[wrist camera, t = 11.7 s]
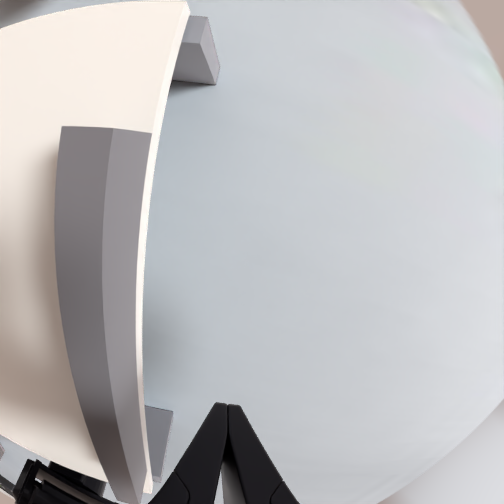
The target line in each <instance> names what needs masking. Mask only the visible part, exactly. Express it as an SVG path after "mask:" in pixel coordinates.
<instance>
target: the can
mask: <svg viewBox="0 0 504 504" xmlns="http://www.w3.org/2000/svg"><path fill="white" fill-rule="evenodd" d="M4 452H5V450H4V448H3V447H2V445H1V444H0V459H1V457H2V455H3V454H4Z"/></svg>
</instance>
